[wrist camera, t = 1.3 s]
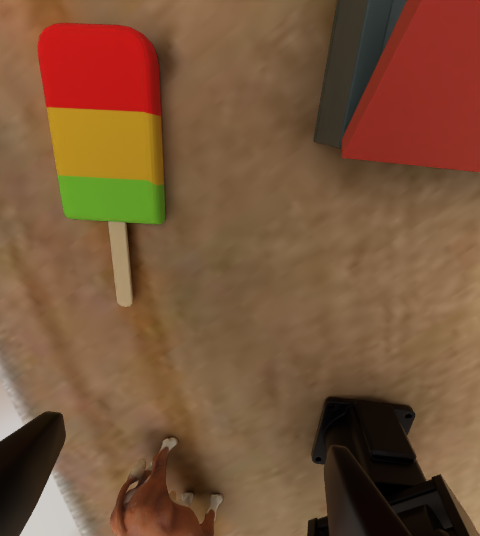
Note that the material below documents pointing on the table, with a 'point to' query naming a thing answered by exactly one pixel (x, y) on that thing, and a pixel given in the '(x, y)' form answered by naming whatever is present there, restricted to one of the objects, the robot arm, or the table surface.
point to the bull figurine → (158, 504)
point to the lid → (424, 91)
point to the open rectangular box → (352, 61)
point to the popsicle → (105, 130)
